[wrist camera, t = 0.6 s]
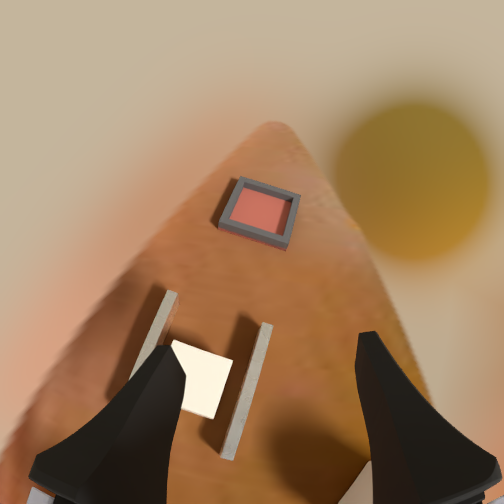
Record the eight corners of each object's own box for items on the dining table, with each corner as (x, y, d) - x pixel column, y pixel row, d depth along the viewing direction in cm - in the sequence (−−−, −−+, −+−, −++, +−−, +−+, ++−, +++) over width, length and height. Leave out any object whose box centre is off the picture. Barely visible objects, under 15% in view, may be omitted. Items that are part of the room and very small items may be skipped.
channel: (230, 457, 21) (232, 460, 19) (122, 417, 22) (114, 416, 20) (267, 333, 28) (273, 325, 26) (170, 300, 29) (167, 289, 27)
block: (212, 419, 23) (213, 418, 20) (158, 400, 23) (151, 395, 20) (228, 369, 26) (233, 360, 23) (177, 351, 26) (173, 339, 23)
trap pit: (285, 251, 34) (288, 243, 33) (217, 229, 34) (218, 221, 33) (297, 202, 39) (300, 195, 37) (239, 183, 39) (240, 176, 38)
